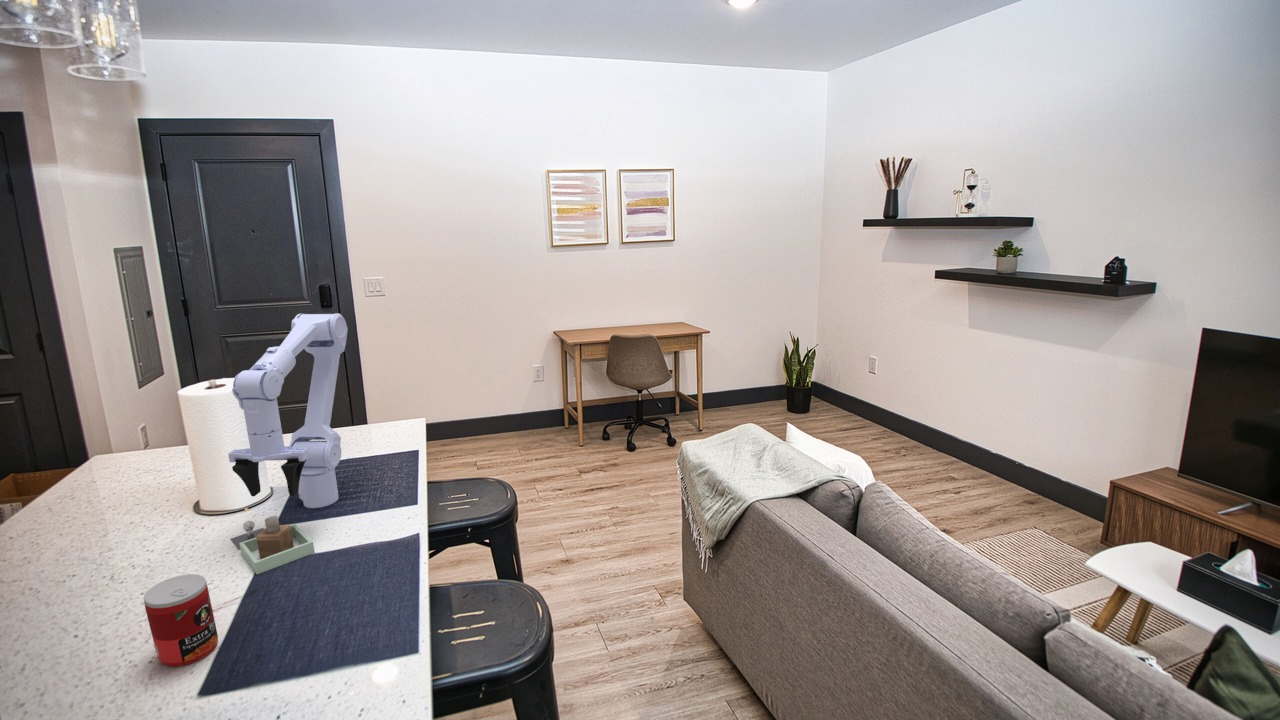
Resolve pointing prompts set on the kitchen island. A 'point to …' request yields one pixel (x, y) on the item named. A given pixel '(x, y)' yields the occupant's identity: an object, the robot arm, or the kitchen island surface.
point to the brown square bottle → (274, 538)
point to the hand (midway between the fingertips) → (275, 493)
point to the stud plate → (249, 534)
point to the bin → (280, 557)
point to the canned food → (181, 619)
